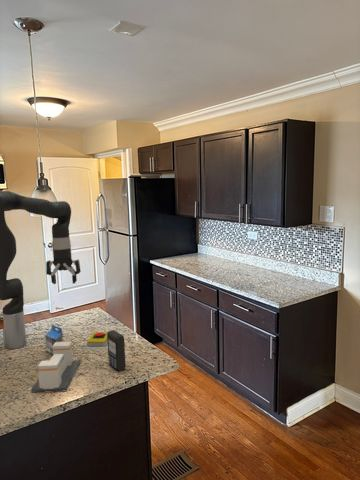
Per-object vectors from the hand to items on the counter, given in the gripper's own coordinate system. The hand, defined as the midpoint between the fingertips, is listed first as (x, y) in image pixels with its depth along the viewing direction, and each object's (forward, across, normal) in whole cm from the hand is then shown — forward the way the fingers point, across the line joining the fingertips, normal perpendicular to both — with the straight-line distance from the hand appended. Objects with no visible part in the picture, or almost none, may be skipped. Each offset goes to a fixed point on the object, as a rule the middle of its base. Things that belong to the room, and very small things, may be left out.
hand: (64, 283), depth 158 cm
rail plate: (+34, 0, -18) cm, 39 cm away
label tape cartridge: (+34, -8, +4) cm, 35 cm away
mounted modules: (+33, 0, -18) cm, 38 cm away
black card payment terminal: (+34, +23, -12) cm, 43 cm away
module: (+33, 0, -18) cm, 38 cm away
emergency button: (+35, +11, +14) cm, 39 cm away
